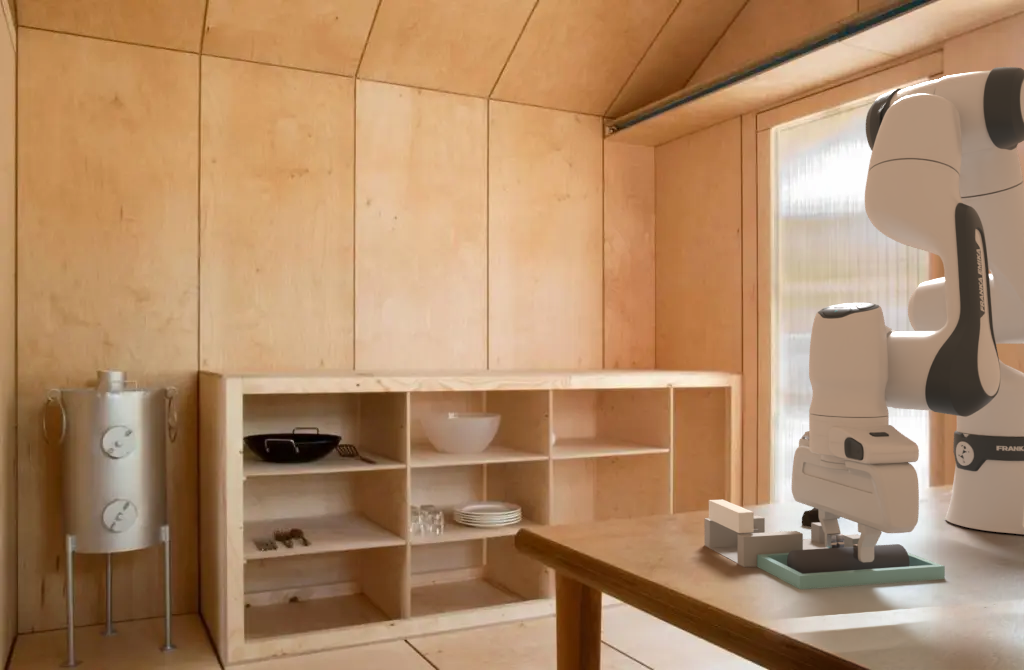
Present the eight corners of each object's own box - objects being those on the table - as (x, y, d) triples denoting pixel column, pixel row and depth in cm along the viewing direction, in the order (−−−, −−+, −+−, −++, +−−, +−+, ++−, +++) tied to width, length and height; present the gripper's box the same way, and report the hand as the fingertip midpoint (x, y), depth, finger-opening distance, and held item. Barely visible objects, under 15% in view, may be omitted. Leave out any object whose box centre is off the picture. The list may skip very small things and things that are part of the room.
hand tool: (829, 538, 125) (829, 506, 125) (801, 535, 127) (801, 503, 127) (856, 516, 141) (856, 487, 141) (831, 513, 143) (831, 485, 143)
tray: (891, 566, 109) (891, 546, 109) (944, 588, 100) (944, 566, 100) (757, 575, 105) (757, 554, 105) (800, 599, 95) (799, 576, 95)
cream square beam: (722, 518, 115) (722, 499, 115) (753, 532, 106) (753, 512, 106) (708, 518, 114) (708, 500, 114) (738, 533, 106) (738, 512, 106)
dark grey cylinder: (890, 569, 105) (890, 541, 105) (909, 577, 102) (909, 547, 102) (787, 576, 102) (786, 547, 102) (803, 584, 99) (802, 554, 99)
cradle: (849, 545, 120) (849, 510, 120) (901, 565, 109) (901, 527, 109) (704, 554, 115) (704, 518, 115) (743, 576, 105) (743, 537, 105)
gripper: (778, 429, 112) (779, 535, 112) (878, 450, 92) (878, 579, 92) (822, 428, 113) (822, 533, 113) (929, 448, 93) (930, 575, 93)
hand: (848, 554), depth 102 cm, fingers open, 4 cm apart
